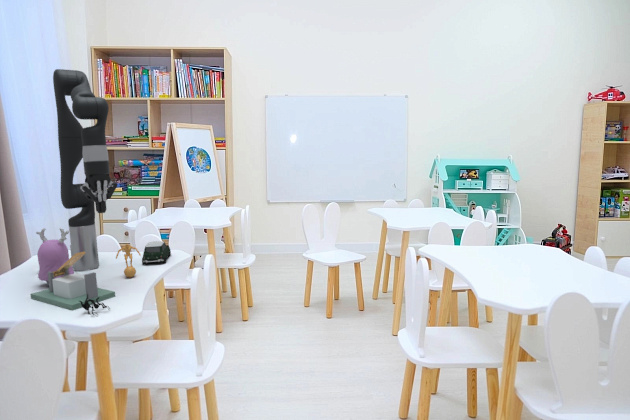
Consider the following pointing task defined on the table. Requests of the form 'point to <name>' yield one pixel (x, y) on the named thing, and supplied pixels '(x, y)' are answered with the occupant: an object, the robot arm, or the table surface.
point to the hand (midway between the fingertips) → (101, 212)
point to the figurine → (130, 270)
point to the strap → (68, 264)
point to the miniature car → (156, 252)
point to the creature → (92, 305)
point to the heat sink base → (74, 301)
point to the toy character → (52, 255)
